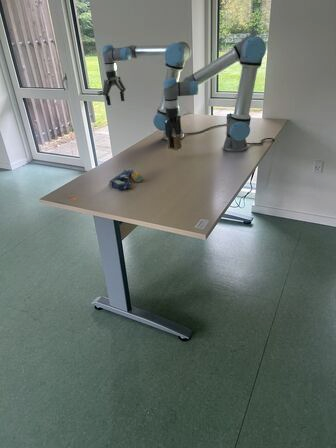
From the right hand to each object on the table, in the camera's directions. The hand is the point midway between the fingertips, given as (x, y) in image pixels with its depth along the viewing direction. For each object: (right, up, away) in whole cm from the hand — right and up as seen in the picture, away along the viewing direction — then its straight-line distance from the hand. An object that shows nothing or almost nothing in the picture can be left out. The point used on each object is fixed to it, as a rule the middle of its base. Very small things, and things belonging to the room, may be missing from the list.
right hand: (174, 146), depth 207 cm
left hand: (-41, +38, +31) cm, 64 cm away
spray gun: (-27, -25, -22) cm, 43 cm away
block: (0, -1, +1) cm, 1 cm away
